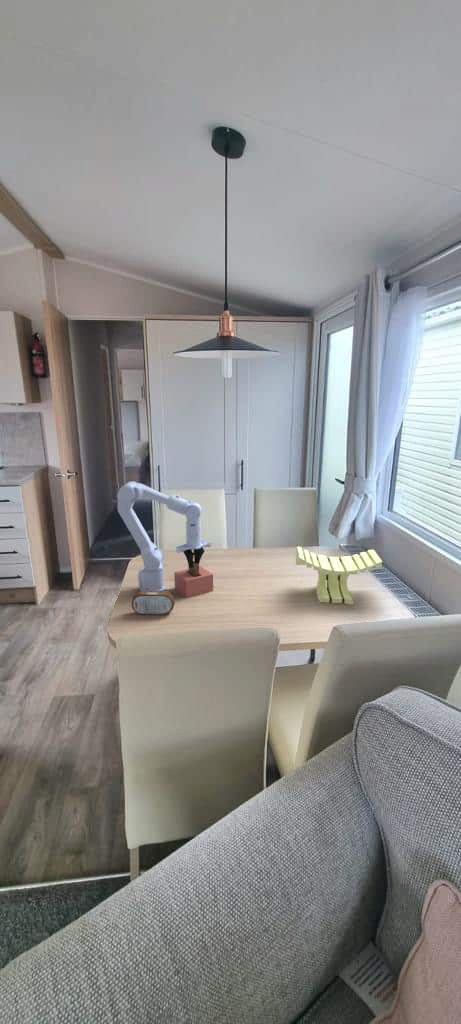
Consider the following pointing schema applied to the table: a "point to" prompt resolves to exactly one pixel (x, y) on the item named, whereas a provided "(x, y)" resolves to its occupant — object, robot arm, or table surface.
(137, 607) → the tin
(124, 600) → the table surface
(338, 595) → the slatted curved stool
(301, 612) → the table surface
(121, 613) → the table surface
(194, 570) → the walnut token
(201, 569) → the money box
